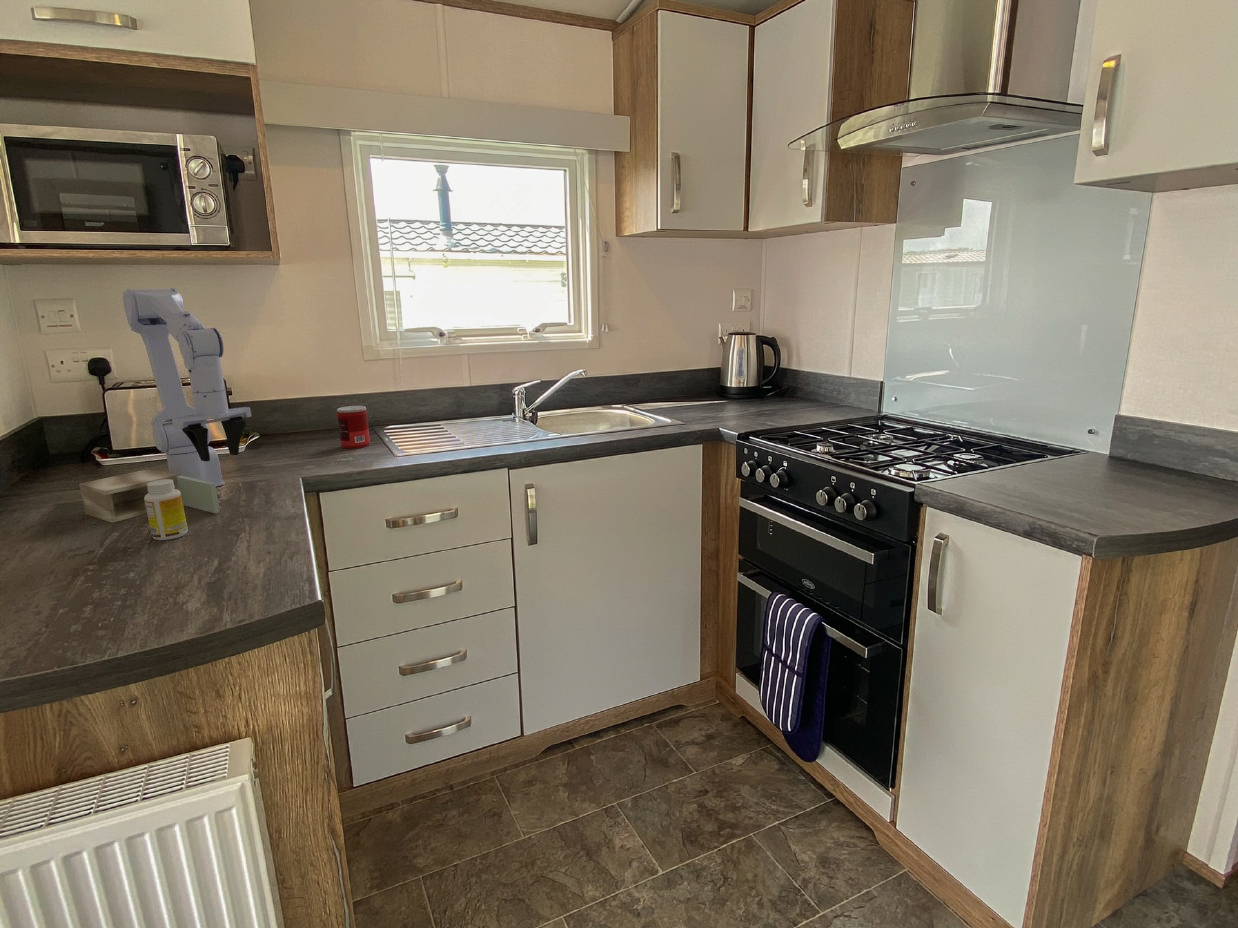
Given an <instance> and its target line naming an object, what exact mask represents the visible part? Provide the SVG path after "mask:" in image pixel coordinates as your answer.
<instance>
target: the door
mask: <svg viewBox="0 0 1238 928" xmlns="http://www.w3.org/2000/svg"><path fill="white" fill-rule="evenodd" d="M177 482H178V488H179V491H180V492H181V497H182V502H183V506H185V507H190V508H193V509H196V510H200V511H204V512H209V513H212V514H219V513H221V511H220V505H219V499H221V498H222V495H221V492H220V491H217V486H215V483H212V482H208V481H203V480H199V479H194V478H190V477H185V476H178V477H177Z"/></svg>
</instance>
